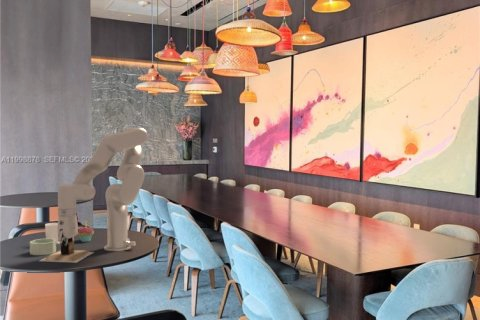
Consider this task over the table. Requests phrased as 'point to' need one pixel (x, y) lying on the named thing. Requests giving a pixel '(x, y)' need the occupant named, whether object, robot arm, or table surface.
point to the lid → (70, 256)
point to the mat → (68, 261)
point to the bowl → (42, 246)
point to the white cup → (52, 231)
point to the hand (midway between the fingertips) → (67, 252)
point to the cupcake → (85, 233)
